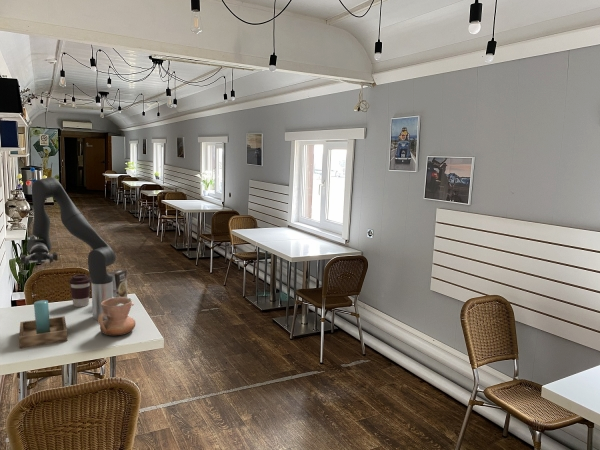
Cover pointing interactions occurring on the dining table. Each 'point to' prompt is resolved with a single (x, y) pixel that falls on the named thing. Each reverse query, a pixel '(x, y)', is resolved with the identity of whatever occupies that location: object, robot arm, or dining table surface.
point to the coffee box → (119, 283)
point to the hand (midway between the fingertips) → (39, 261)
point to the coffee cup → (80, 289)
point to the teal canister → (42, 316)
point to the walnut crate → (32, 339)
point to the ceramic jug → (116, 316)
